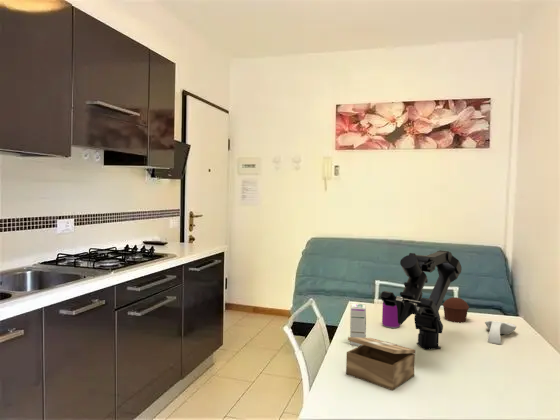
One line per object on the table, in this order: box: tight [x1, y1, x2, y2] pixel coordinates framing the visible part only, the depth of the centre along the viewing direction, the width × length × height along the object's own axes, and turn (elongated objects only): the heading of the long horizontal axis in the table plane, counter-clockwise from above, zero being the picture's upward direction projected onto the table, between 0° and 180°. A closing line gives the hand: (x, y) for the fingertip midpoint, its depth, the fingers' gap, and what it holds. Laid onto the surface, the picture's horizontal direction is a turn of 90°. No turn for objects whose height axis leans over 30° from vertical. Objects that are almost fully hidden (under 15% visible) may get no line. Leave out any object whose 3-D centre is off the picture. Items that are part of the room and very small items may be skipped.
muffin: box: [442, 297, 470, 324], centre depth 198 cm, size 12×11×10 cm
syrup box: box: [349, 303, 367, 347], centre depth 164 cm, size 6×6×14 cm
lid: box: [347, 336, 416, 354], centre depth 135 cm, size 14×16×1 cm
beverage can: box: [381, 302, 401, 329], centre depth 186 cm, size 8×8×12 cm
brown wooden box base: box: [345, 345, 416, 391], centre depth 135 cm, size 14×16×7 cm
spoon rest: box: [484, 320, 517, 345], centre depth 176 cm, size 24×12×7 cm, turn 147°
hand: (399, 323), depth 144 cm, fingers closed
